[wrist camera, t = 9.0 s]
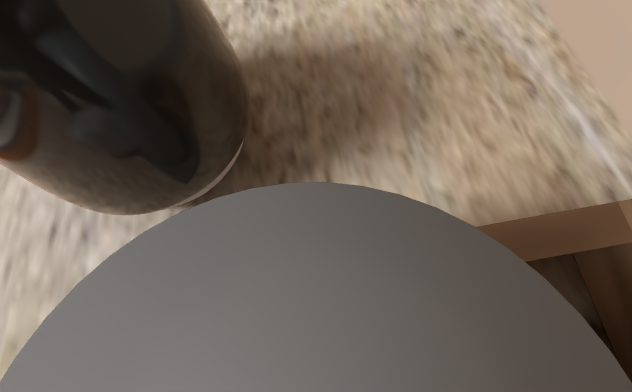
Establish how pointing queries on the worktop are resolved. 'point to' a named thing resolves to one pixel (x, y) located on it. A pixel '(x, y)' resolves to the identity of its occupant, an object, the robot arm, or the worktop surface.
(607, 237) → the block
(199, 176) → the dark egg-shaped device
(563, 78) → the worktop surface
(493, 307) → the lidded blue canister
